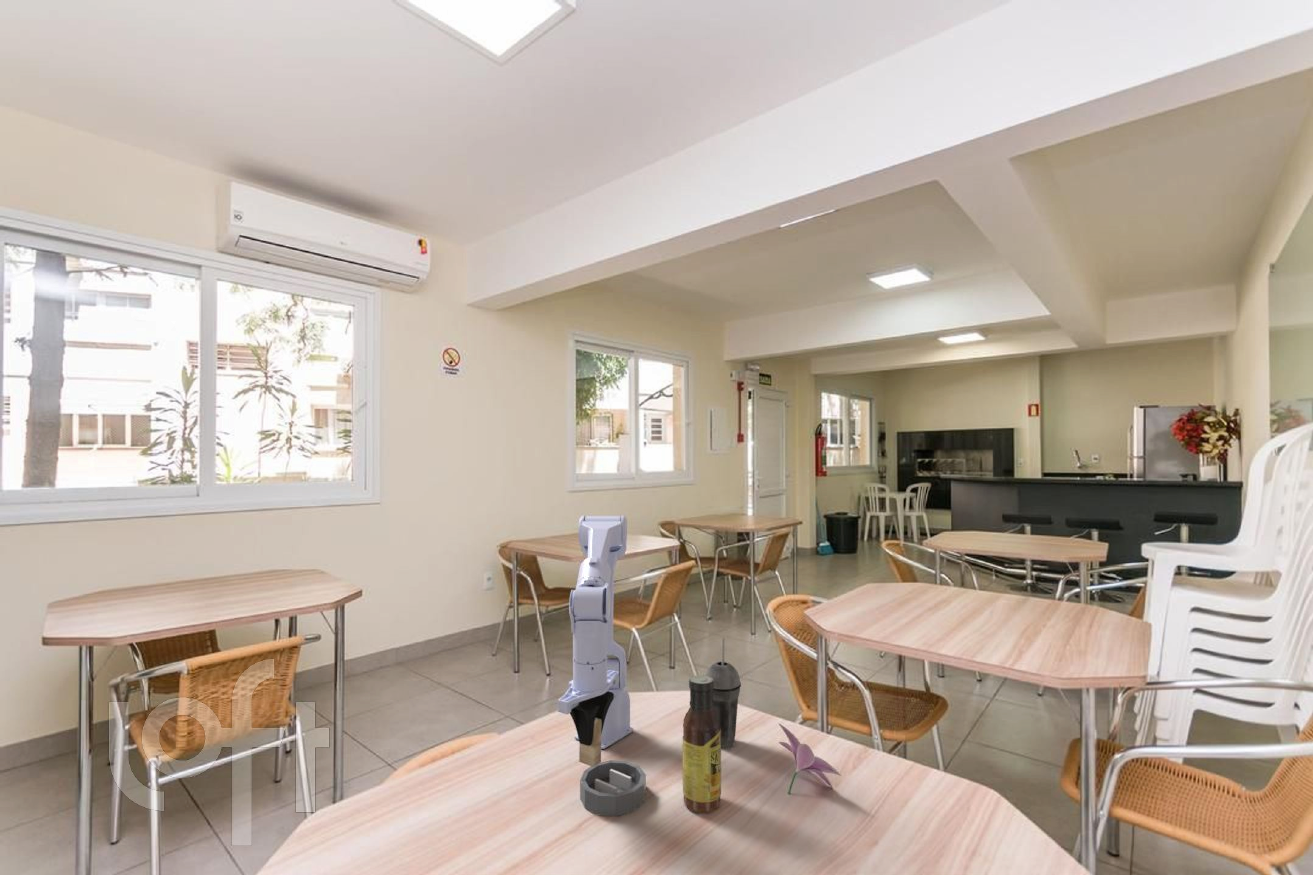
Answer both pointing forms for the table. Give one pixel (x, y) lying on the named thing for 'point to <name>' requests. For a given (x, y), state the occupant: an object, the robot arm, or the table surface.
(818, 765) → the lily
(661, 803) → the table surface
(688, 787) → the sauce bottle
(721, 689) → the beverage cup
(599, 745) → the wooden jenga block
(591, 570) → the robot arm
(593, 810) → the grey round bowl
